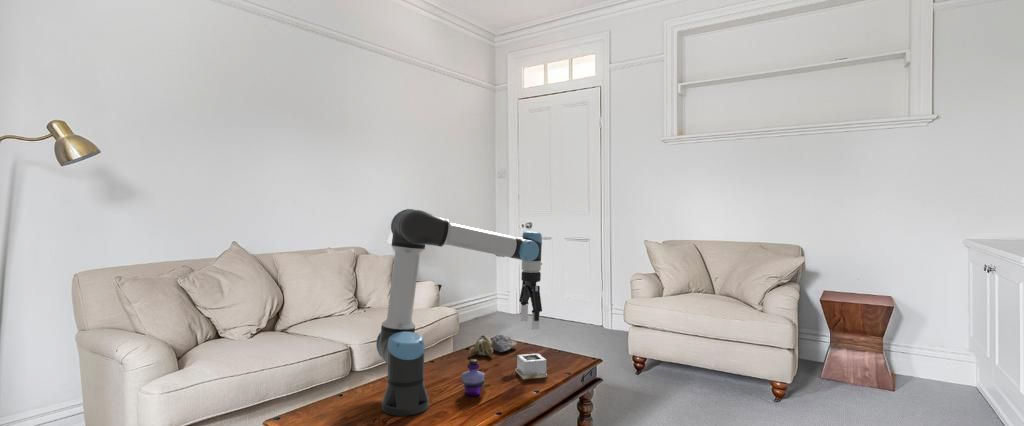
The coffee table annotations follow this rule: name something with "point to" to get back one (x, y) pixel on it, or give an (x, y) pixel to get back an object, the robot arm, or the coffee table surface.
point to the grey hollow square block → (531, 364)
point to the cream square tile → (531, 375)
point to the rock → (502, 343)
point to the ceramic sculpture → (482, 346)
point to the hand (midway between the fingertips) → (529, 325)
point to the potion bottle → (473, 379)
